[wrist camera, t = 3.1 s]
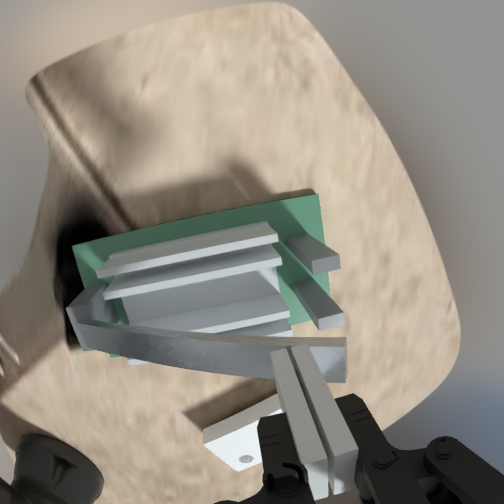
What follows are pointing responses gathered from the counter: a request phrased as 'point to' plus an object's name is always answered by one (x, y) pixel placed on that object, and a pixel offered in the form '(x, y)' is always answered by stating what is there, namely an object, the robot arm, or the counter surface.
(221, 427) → the bracket
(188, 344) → the strap
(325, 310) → the heatsink board
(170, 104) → the counter surface
